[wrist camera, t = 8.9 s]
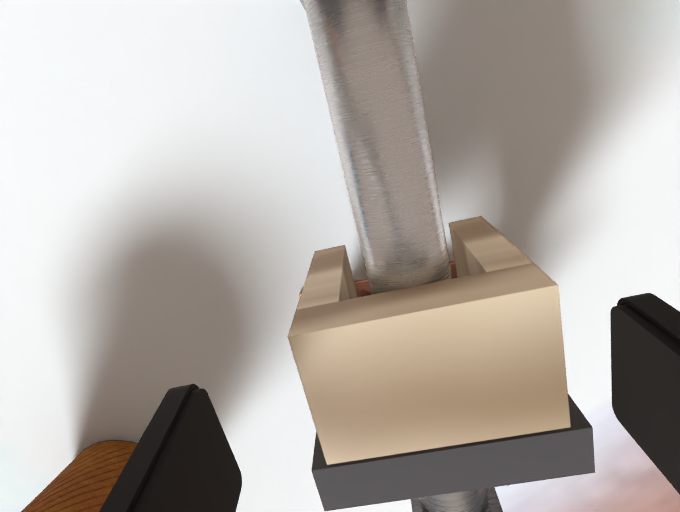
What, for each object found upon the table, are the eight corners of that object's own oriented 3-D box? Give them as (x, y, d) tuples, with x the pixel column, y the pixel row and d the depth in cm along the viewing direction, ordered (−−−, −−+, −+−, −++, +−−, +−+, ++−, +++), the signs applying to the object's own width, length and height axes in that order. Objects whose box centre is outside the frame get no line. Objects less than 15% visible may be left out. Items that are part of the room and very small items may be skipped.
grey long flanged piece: (216, 5, 17) (96, -78, 9) (476, -70, 16) (590, -235, 8) (336, 418, 23) (325, 578, 15) (527, 386, 22) (619, 541, 14)
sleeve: (314, 251, 17) (287, 336, 11) (480, 216, 16) (557, 285, 10) (338, 340, 18) (327, 465, 12) (494, 311, 17) (570, 427, 11)
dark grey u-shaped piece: (330, 317, 20) (311, 470, 12) (490, 286, 20) (592, 427, 11) (337, 344, 21) (324, 511, 12) (494, 316, 20) (595, 472, 12)
